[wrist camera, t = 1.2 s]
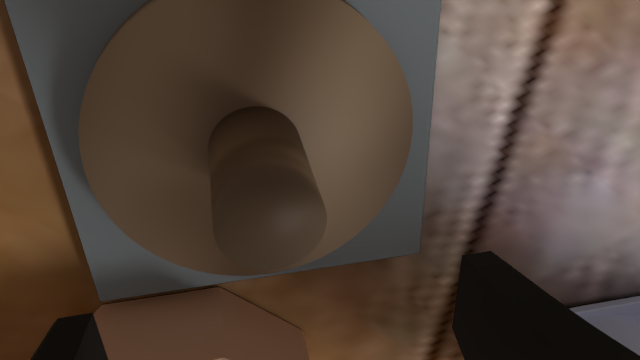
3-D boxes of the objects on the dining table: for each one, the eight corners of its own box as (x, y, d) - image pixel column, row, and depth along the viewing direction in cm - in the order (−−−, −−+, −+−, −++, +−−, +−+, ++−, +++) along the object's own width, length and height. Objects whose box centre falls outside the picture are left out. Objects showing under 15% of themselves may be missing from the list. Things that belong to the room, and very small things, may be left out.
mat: (440, -86, 16) (448, -83, 16) (414, 243, 23) (419, 253, 22) (-7, -59, 14) (-14, -56, 14) (102, 290, 21) (100, 301, 20)
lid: (411, -43, 16) (488, 1, 12) (396, 236, 21) (446, 334, 17) (40, -16, 15) (-19, 45, 10) (123, 276, 20) (106, 394, 16)
